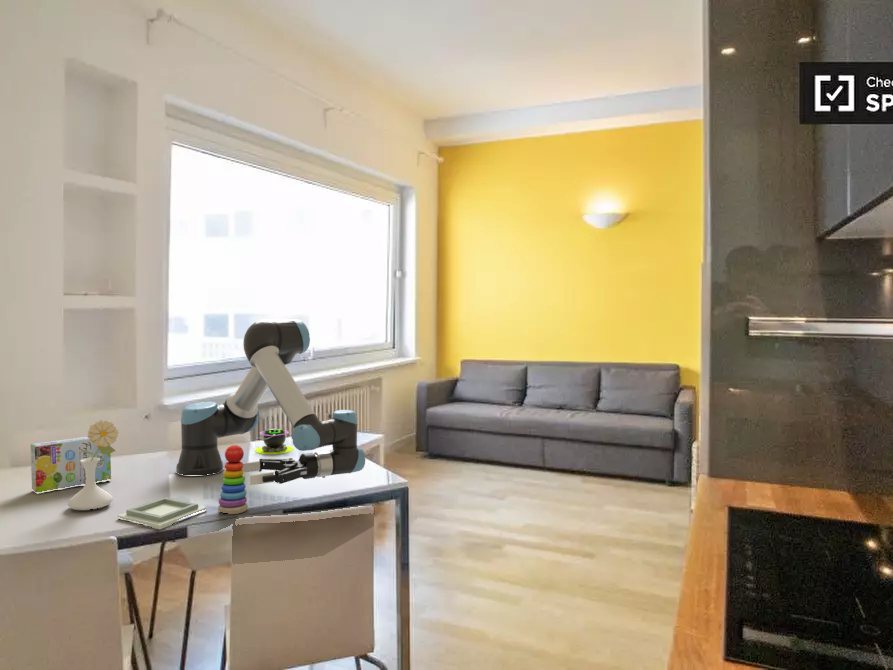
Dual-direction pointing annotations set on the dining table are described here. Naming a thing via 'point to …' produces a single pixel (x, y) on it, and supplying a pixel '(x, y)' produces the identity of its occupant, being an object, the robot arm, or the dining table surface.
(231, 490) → the stacking toy
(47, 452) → the snack box
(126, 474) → the dining table surface
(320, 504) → the dining table surface
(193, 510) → the base plate
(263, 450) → the toy cauldron
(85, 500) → the flower in vase
